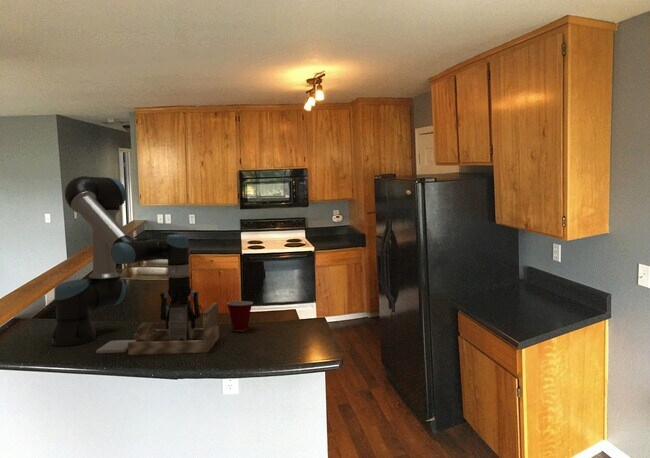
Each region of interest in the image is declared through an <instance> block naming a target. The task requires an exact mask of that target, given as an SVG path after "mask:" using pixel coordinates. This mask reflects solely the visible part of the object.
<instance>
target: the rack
mask: <svg viewBox="0 0 650 458" xmlns="http://www.w3.org/2000/svg"><path fill="white" fill-rule="evenodd" d="M202 324H203V325H202V327H199V328H198V327H197V328H196V327H195V328H194V329H193V337H192V340H187V341H170V339H169V330H167V329H166V328H164V329H156V337H157V338H158V341H154V342H129V343H128V350H127V355H129V356H132V355H134V356H136V355H160V354H161V355H162V354H166V355H167V354H168V355H169V354H192V353H193V354H194V353H197V354H198V353H199V354H200V353H209V352H210V351H211V350H212V348H213V347H214V345H215V344H216V342H217V341H218V340H219V339H220V330H219V329H220V328H219V327H220V326H219V324H220V323H219V302H213V303H211V304H210V306H209V307H207V309H205V310H204V311H203V312H202ZM193 339H197V340H193Z"/></svg>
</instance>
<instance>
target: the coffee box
mask: <svg viewBox="0 0 650 458" xmlns="http://www.w3.org/2000/svg"><path fill="white" fill-rule="evenodd" d="M189 302H190V305H191V306H192V301H191V300H190V299H189ZM168 306H169V329H170V340H169V341H187V340H192V338H189V320H190V317H189V314H188V304H184V303H183V301H182V302H181V301H177V302H175V303H174V304H169V305H168Z"/></svg>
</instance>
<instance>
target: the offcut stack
mask: <svg viewBox="0 0 650 458" xmlns="http://www.w3.org/2000/svg"><path fill="white" fill-rule="evenodd" d="M155 325H156V324H155V322H154V321H153V322H142V323H141V324H140V325H139V326H138V327H136V332H135V333H134V334H133V340H136V342H154V341H158V338H157V337H156V330H157V328H156V327H155Z"/></svg>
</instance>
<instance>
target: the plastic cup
mask: <svg viewBox="0 0 650 458" xmlns="http://www.w3.org/2000/svg"><path fill="white" fill-rule="evenodd" d="M253 304H254V302H253V301H247V300H245V301H244V300H236V301H235V300H234V301H228V302H226V305H227V307H228V311H229V316H230V322H231V326H232V329H234V330H245V329H247V328H248V329H249V323H250V316H251V310H252V305H253ZM248 329H247V330H248ZM234 330H233V331H234Z"/></svg>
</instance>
